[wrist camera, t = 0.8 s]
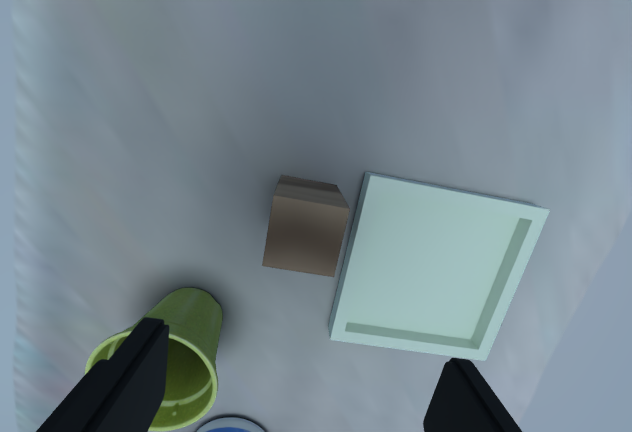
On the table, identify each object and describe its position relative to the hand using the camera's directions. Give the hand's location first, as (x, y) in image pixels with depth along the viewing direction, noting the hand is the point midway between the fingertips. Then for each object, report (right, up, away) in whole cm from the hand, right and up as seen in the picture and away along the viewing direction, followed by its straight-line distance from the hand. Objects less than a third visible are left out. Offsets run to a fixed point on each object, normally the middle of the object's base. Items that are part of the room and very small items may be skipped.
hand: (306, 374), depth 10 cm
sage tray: (+11, 0, +20) cm, 23 cm away
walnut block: (-1, +6, +18) cm, 19 cm away
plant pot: (-12, -4, +21) cm, 24 cm away
